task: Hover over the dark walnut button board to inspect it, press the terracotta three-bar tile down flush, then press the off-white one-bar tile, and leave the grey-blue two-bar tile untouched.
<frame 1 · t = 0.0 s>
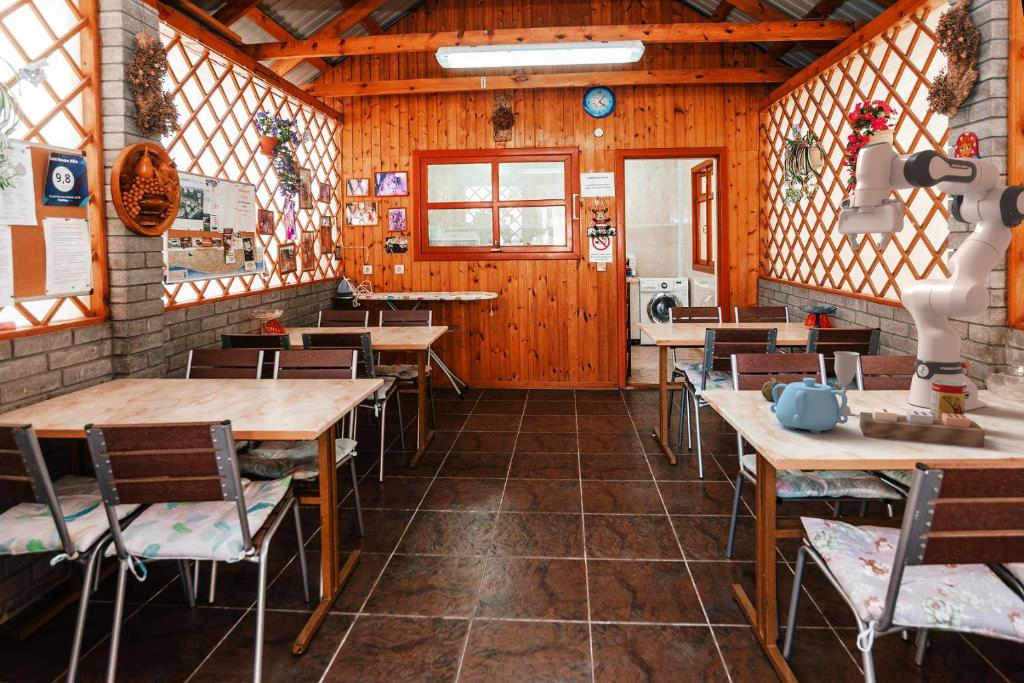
hand: (867, 249, 193), 48 cm above the table, fingers open, 8 cm apart
button board: (918, 436, 172), on the table
tile three: (955, 421, 169), point 5 cm above the table, slide at 0.0 cm
chalice: (842, 414, 197), on the table
tile one: (884, 415, 175), point 5 cm above the table, slide at 0.0 cm
decorative pot: (806, 428, 181), on the table
canned food: (945, 426, 183), on the table
tile two: (919, 418, 172), point 5 cm above the table, slide at 0.0 cm
onion: (774, 401, 215), on the table
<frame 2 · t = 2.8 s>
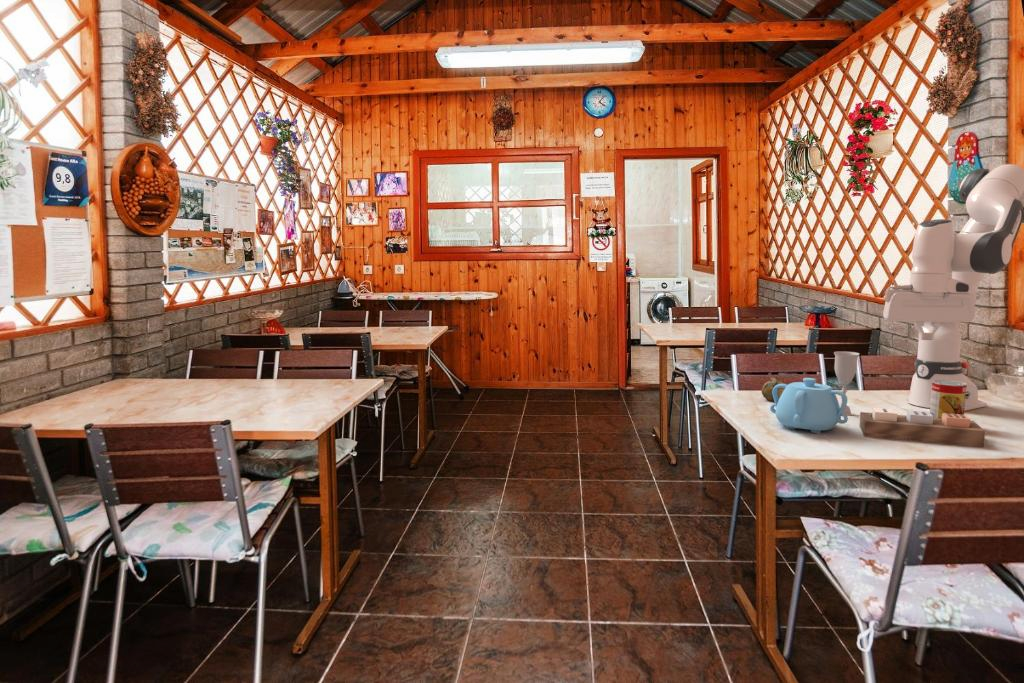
hand: (925, 339, 169), 25 cm above the table, fingers closed
nothing on the table moved.
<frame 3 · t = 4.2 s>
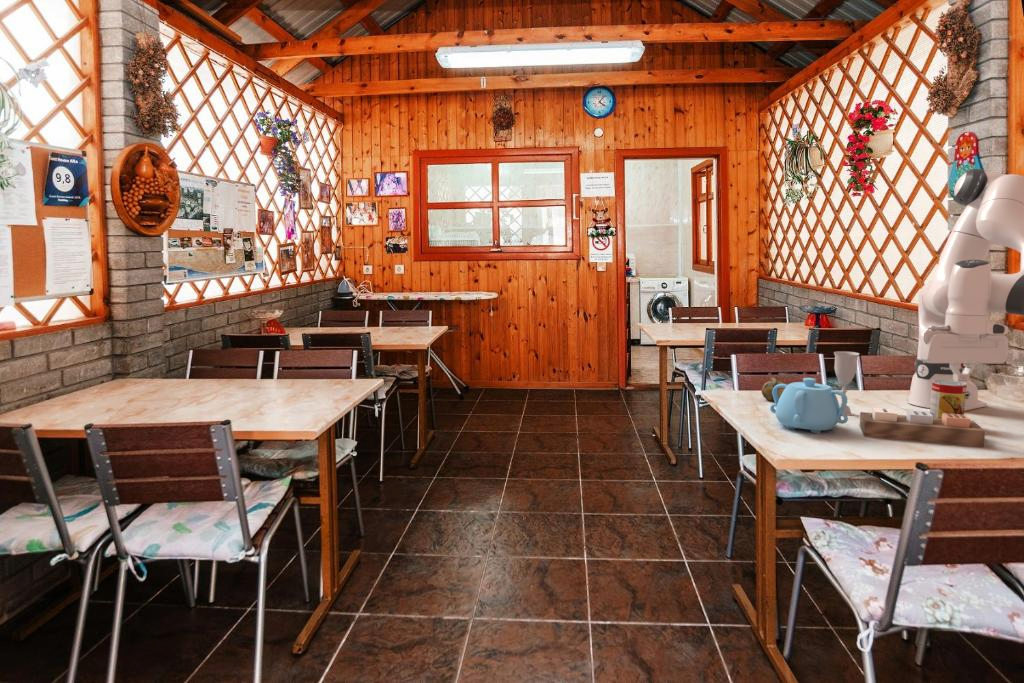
hand: (960, 380, 167), 15 cm above the table, fingers closed
nothing on the table moved.
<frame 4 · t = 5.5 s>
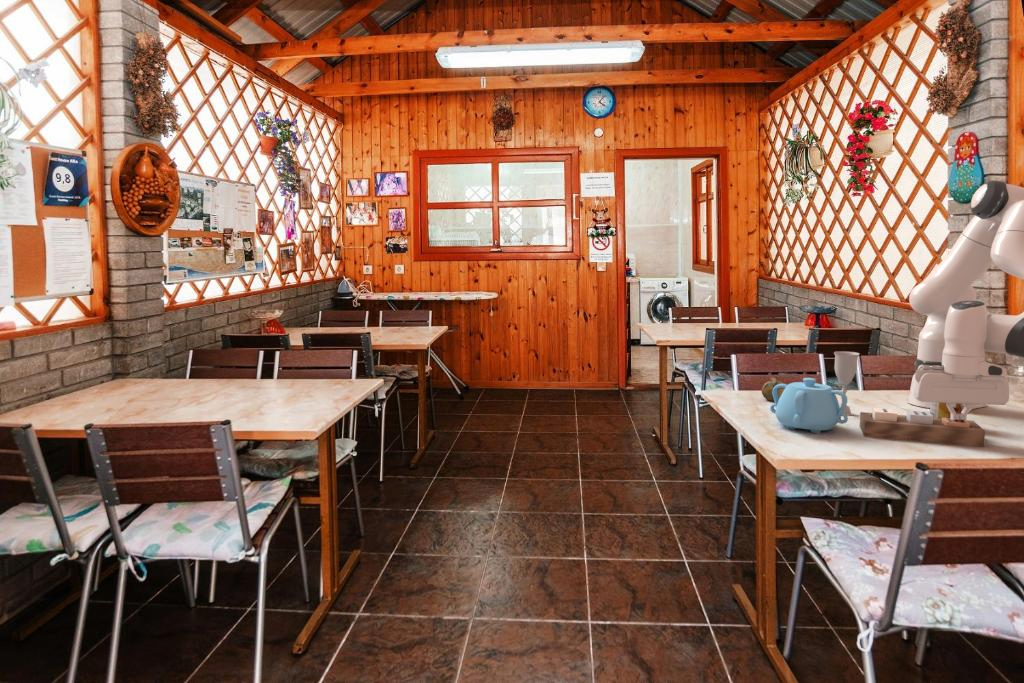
hand: (958, 420, 169), 5 cm above the table, fingers closed, pressing on tile three
tile three: (955, 425, 169), point 3 cm above the table, slide at 1.2 cm, touching gripper
everything else where it was.
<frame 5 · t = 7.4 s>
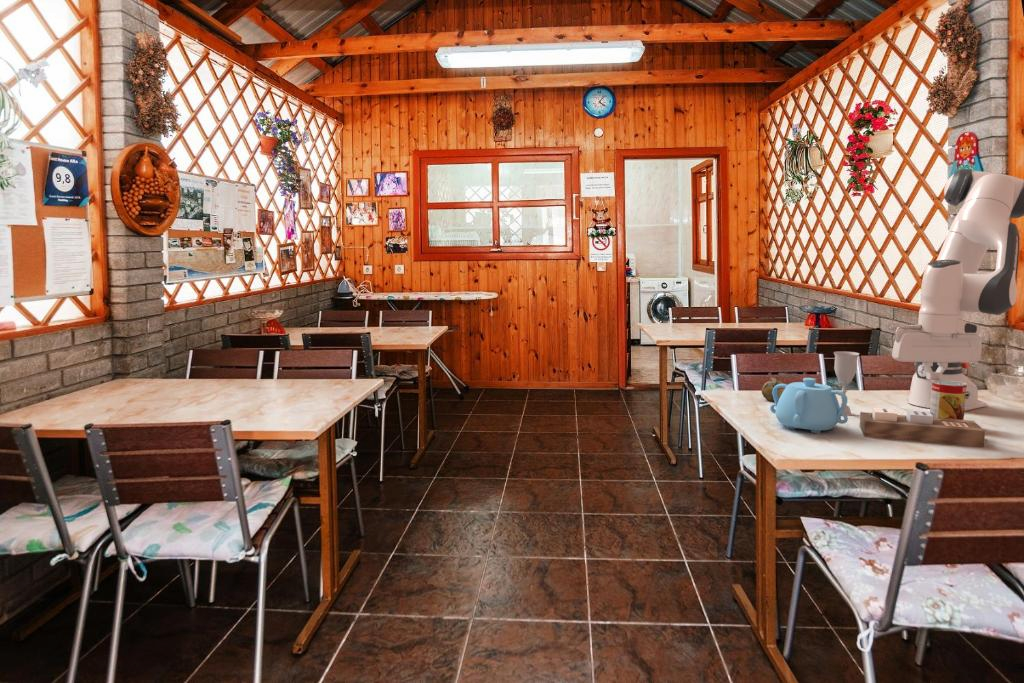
hand: (933, 379, 169), 15 cm above the table, fingers closed
tile three: (954, 429, 169), point 3 cm above the table, slide at 2.1 cm
everything else where it was.
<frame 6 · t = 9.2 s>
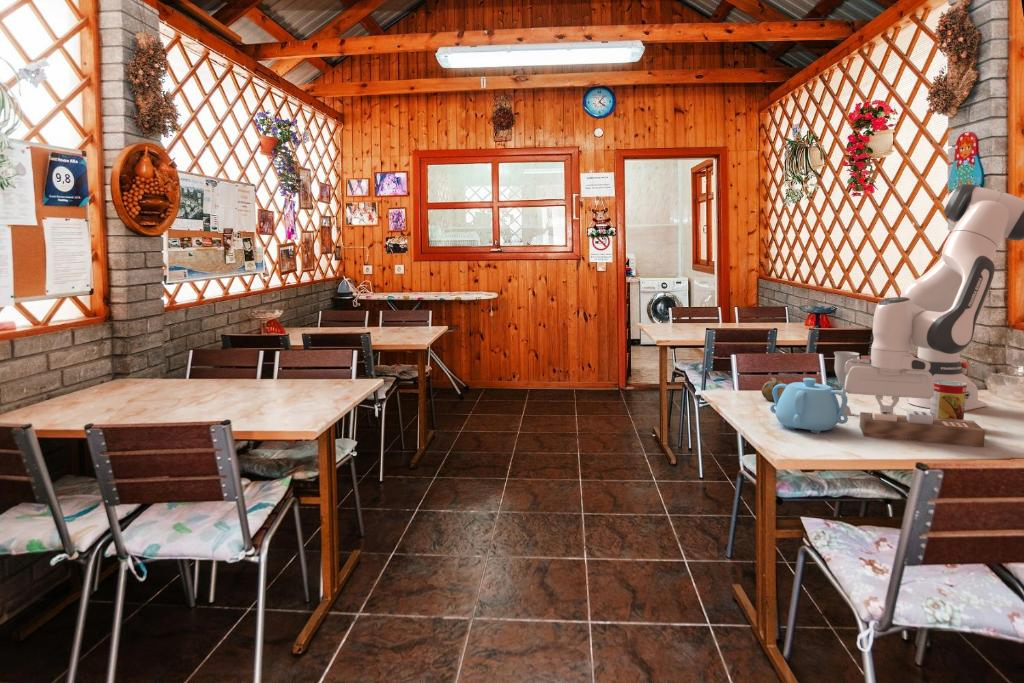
hand: (886, 412, 174), 6 cm above the table, fingers closed, pressing on tile one
tile one: (884, 418, 175), point 4 cm above the table, slide at 0.6 cm, touching gripper
everything else where it was.
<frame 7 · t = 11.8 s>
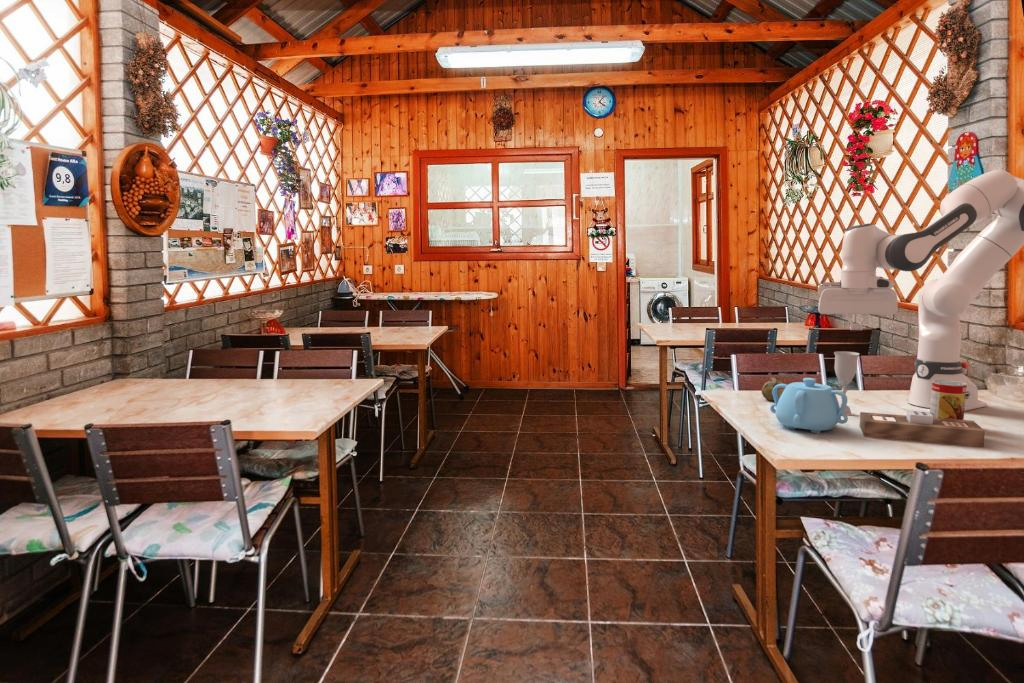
hand: (856, 330, 192), 25 cm above the table, fingers closed
tile one: (883, 423, 175), point 3 cm above the table, slide at 2.1 cm
everything else where it was.
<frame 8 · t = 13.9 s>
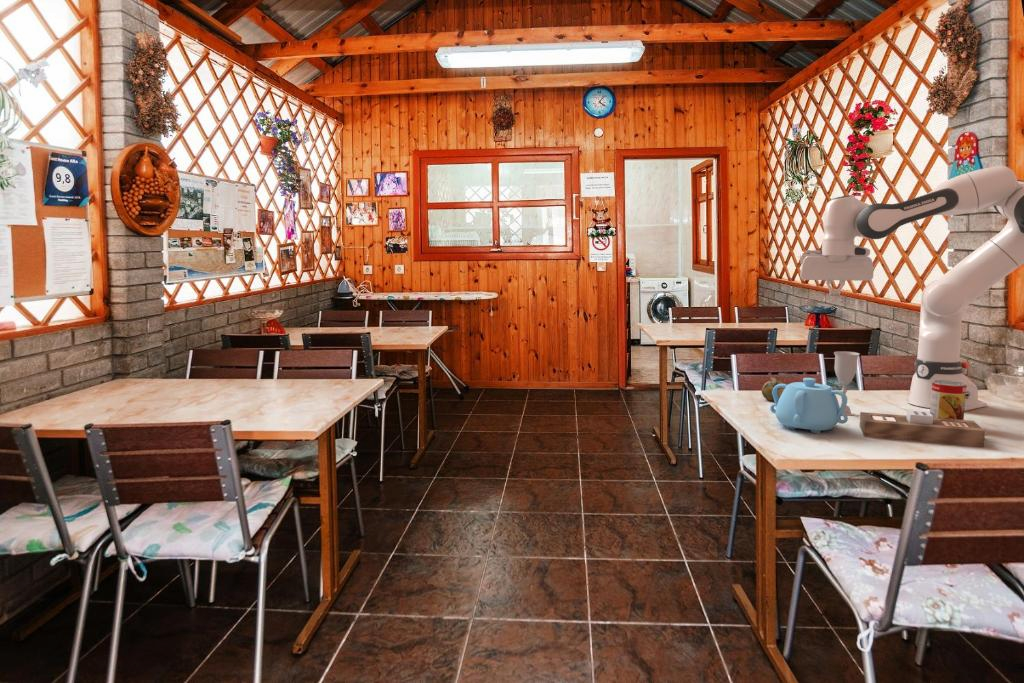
hand: (834, 295, 206), 34 cm above the table, fingers closed
nothing on the table moved.
at the end: tile three slide at 2.1 cm; tile one slide at 2.1 cm; tile two slide at 0.0 cm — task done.
